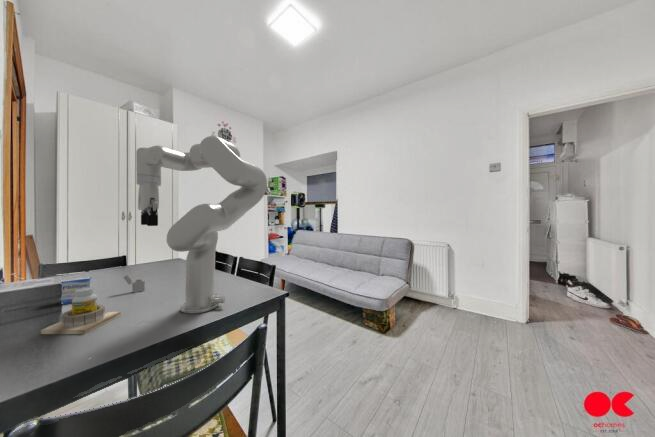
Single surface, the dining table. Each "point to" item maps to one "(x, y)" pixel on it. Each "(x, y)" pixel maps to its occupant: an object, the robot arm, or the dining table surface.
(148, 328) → the dining table surface
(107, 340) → the dining table surface
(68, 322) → the collar block
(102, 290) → the dining table surface
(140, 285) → the lighter
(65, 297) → the medicine box
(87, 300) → the supplement bottle
